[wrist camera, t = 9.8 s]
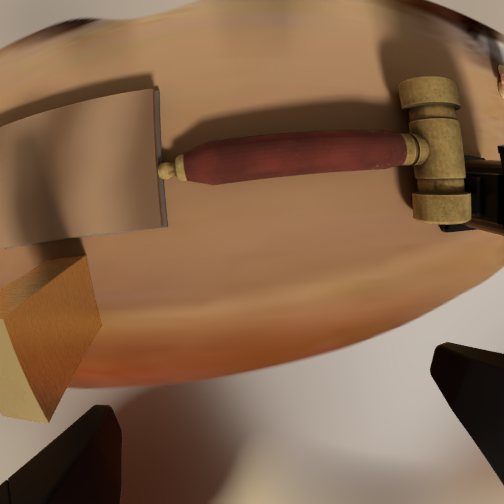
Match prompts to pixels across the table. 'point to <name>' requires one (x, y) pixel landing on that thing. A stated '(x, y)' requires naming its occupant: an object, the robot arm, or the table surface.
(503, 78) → the grandmother figurine
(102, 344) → the table surface
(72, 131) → the tan flat block
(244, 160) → the gavel
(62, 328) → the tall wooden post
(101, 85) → the table surface
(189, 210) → the table surface
